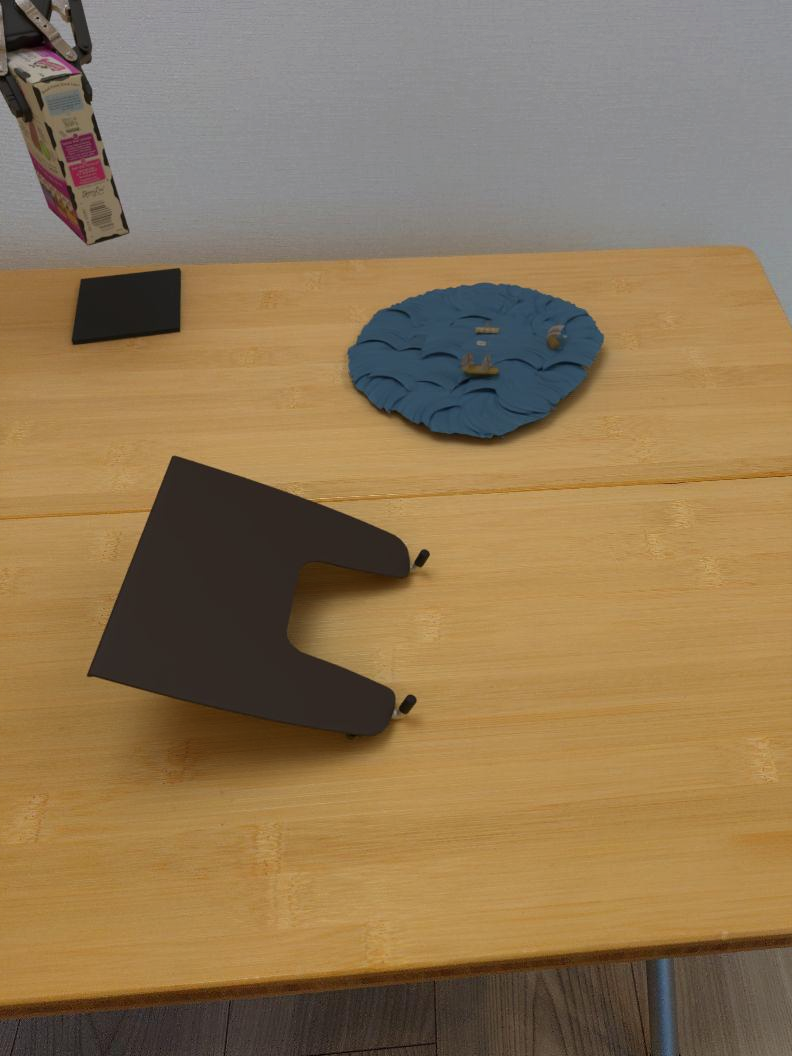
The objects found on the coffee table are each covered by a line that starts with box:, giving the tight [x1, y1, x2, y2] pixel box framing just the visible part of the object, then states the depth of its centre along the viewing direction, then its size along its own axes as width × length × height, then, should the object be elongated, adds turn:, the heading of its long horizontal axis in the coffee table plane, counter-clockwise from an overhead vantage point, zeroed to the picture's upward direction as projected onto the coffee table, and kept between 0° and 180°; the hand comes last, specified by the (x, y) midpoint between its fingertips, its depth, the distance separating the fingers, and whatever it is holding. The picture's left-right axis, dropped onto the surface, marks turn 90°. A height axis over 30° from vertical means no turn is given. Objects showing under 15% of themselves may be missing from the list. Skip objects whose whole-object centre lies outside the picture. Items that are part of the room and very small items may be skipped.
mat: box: [71, 267, 182, 345], centre depth 116 cm, size 12×14×1 cm
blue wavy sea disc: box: [347, 282, 605, 439], centre depth 107 cm, size 30×30×5 cm
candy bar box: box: [6, 46, 131, 246], centre depth 96 cm, size 11×5×16 cm, turn 41°
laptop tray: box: [86, 455, 431, 741], centre depth 78 cm, size 23×23×9 cm
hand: (57, 111), depth 93 cm, fingers closed on candy bar box, 5 cm apart
